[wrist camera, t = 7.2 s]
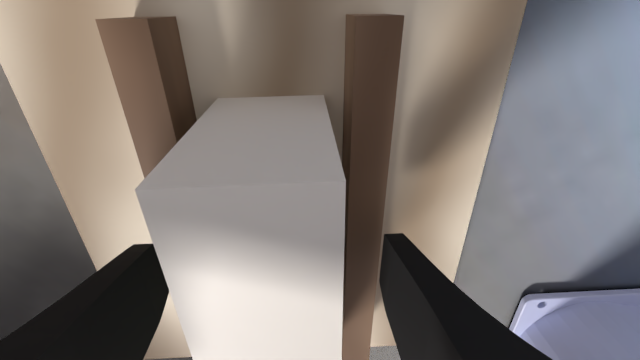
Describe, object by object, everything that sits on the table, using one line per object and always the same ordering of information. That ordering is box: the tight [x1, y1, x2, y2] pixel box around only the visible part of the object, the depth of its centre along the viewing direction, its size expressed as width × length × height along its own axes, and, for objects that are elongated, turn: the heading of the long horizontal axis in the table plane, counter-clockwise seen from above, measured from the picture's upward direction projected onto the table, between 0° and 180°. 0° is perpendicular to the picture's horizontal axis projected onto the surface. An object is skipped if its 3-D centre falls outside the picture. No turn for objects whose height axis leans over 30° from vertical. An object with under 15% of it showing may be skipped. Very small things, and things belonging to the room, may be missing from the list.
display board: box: [0, 0, 527, 360], centre depth 13 cm, size 16×18×4 cm
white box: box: [135, 95, 346, 360], centre depth 10 cm, size 4×10×6 cm, turn 1°
